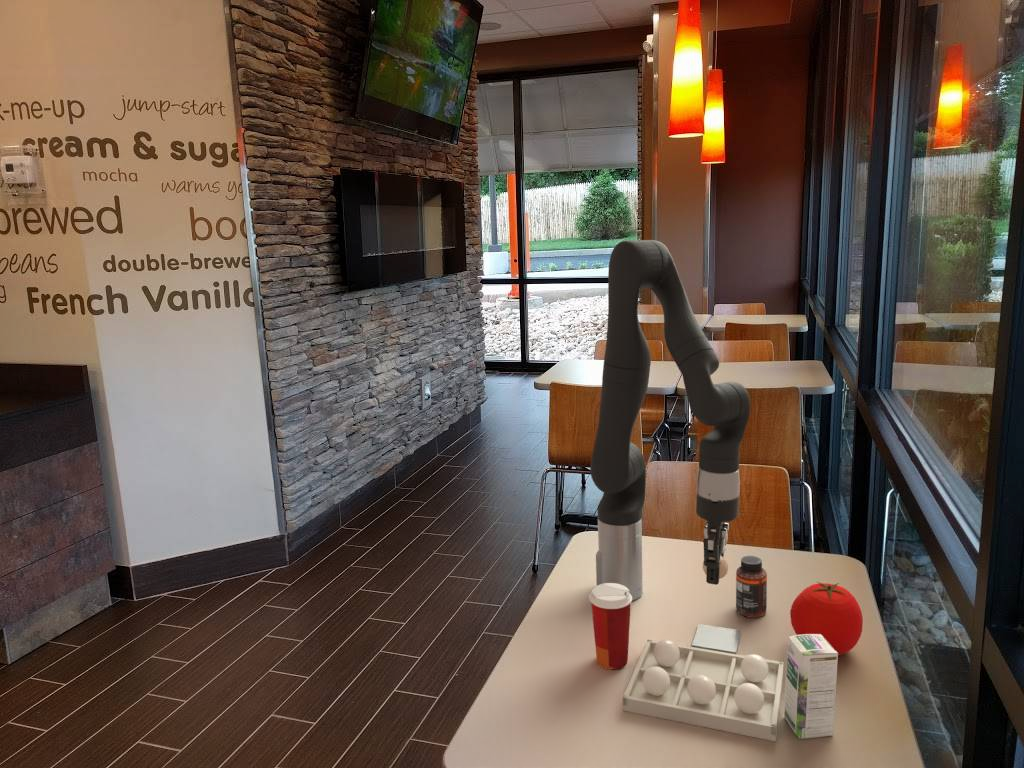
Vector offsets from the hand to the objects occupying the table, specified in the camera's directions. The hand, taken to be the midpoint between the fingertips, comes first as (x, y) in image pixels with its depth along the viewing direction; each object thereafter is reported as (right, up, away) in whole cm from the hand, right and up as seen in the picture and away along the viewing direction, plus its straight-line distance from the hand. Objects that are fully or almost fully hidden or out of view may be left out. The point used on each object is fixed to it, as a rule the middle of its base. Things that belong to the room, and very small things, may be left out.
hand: (714, 576), depth 144 cm
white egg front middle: (-7, -14, -17) cm, 23 cm away
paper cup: (-19, -15, -2) cm, 25 cm away
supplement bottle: (+11, -10, +13) cm, 20 cm away
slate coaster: (+1, -13, +3) cm, 13 cm away
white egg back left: (-10, -12, -7) cm, 17 cm away
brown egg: (0, +2, 0) cm, 2 cm away
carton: (-5, -16, -13) cm, 21 cm away
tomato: (+20, -13, -2) cm, 24 cm away
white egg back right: (+4, -13, -12) cm, 18 cm away
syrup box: (+9, -18, -22) cm, 30 cm away
